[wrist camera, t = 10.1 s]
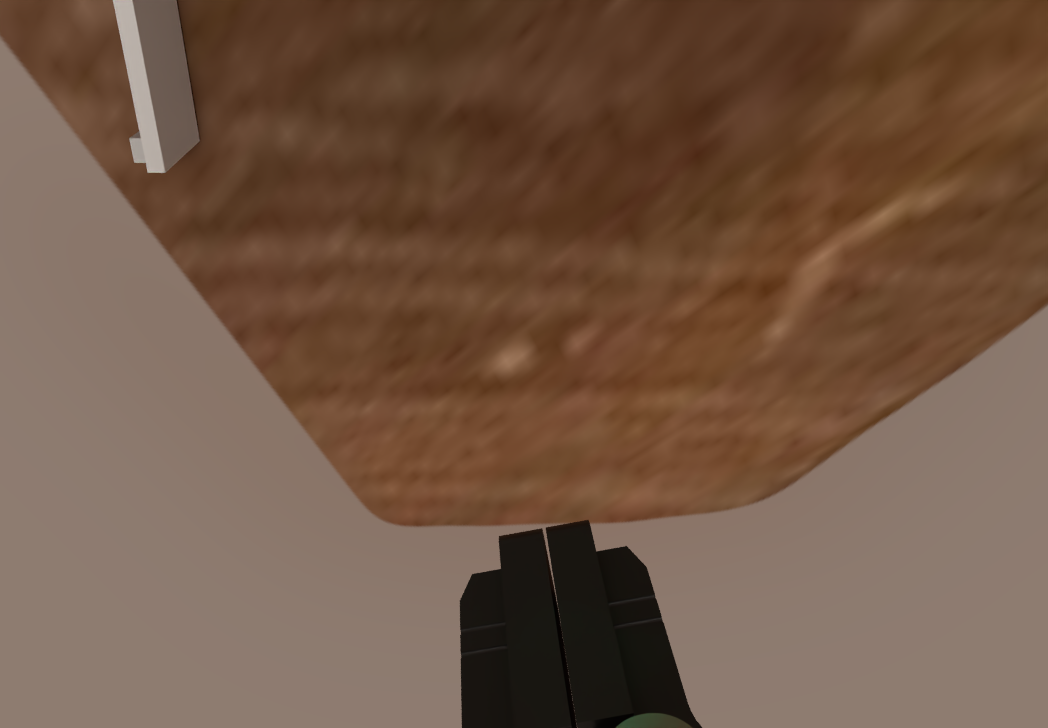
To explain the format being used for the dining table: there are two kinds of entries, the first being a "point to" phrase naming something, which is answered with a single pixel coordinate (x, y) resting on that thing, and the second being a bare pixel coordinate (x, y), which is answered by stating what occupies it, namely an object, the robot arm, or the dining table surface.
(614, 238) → the dining table surface
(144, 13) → the side door
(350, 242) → the dining table surface
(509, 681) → the robot arm
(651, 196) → the dining table surface
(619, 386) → the dining table surface
